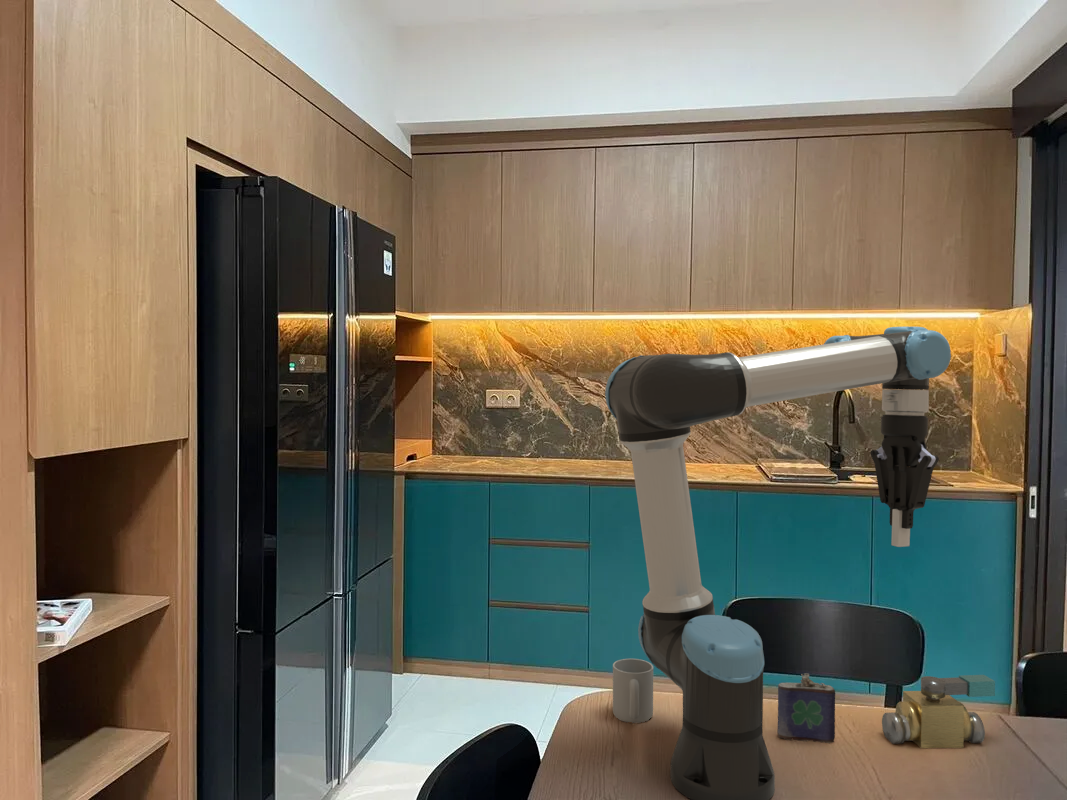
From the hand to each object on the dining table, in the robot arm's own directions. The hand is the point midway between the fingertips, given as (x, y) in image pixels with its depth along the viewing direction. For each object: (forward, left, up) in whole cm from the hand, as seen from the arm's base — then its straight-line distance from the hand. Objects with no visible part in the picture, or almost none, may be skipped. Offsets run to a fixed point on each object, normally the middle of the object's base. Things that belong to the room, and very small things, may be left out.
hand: (900, 545), depth 136 cm
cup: (-48, 0, -31) cm, 57 cm away
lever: (+5, -9, -23) cm, 25 cm away
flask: (-20, -8, -31) cm, 38 cm away
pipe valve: (+1, -9, -31) cm, 32 cm away
